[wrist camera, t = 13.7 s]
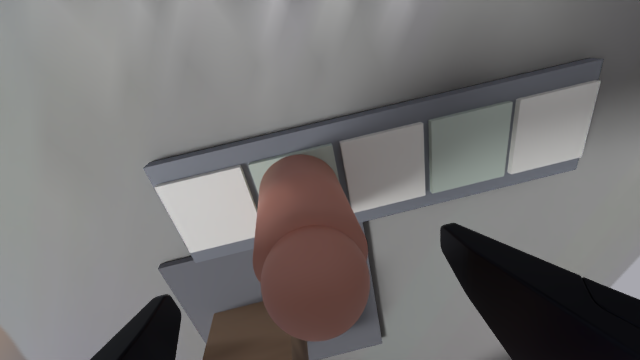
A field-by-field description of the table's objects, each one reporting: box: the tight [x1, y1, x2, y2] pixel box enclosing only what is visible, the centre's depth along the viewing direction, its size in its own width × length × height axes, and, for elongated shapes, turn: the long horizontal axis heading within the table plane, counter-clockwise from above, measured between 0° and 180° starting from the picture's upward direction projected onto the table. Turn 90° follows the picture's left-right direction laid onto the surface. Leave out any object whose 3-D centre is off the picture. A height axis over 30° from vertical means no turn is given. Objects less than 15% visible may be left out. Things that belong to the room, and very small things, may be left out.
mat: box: [158, 222, 382, 360], centre depth 19 cm, size 12×12×1 cm
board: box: [143, 58, 604, 263], centre depth 15 cm, size 6×22×1 cm, turn 102°
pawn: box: [253, 154, 370, 342], centre depth 11 cm, size 4×4×8 cm
